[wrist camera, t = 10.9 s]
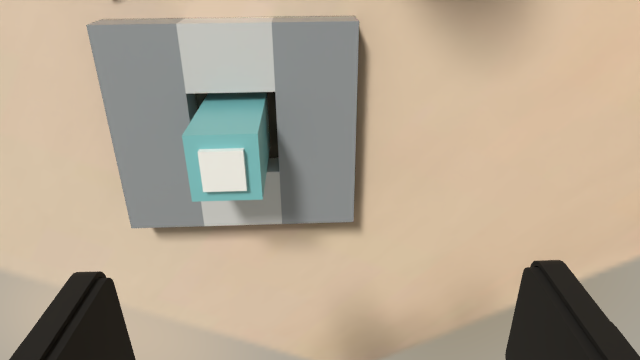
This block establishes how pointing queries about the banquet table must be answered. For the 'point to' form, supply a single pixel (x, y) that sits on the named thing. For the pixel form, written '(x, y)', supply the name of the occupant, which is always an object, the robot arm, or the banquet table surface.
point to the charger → (228, 147)
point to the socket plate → (231, 77)
